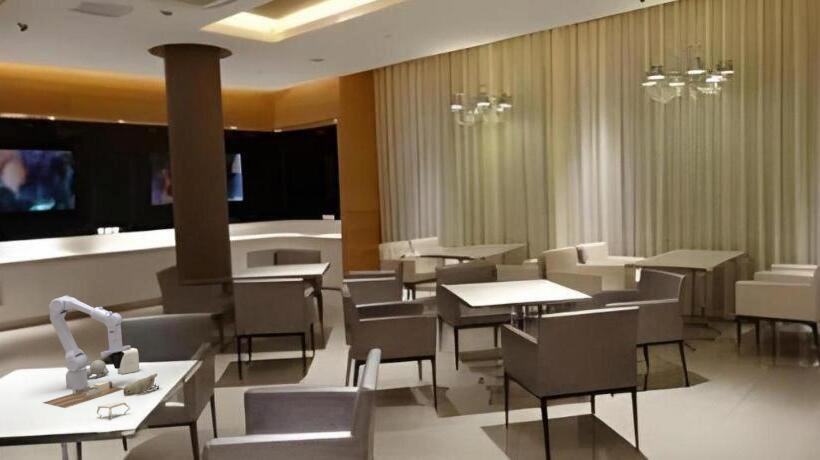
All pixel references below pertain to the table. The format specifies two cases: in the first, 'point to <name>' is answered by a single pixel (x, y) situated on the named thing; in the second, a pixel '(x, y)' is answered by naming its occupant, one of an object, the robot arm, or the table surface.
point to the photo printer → (129, 362)
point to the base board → (79, 398)
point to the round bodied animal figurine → (97, 369)
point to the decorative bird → (140, 385)
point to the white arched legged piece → (111, 405)
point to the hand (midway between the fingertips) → (117, 368)
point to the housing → (87, 392)
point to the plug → (103, 385)
